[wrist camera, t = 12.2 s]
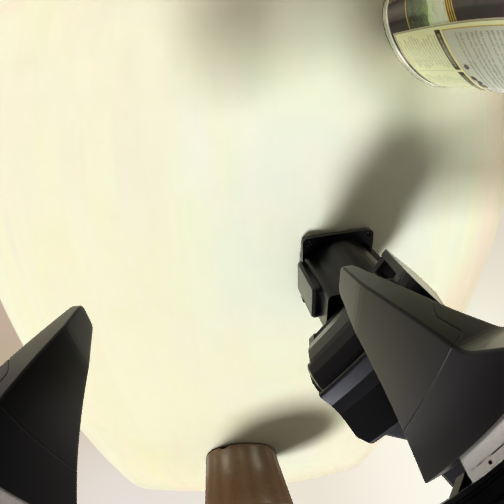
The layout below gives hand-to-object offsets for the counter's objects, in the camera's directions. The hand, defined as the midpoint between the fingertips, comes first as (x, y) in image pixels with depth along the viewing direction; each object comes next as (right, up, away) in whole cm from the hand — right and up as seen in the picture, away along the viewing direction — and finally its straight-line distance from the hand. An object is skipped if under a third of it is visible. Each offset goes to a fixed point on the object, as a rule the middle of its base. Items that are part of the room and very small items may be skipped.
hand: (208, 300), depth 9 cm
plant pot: (-1, -34, +33) cm, 47 cm away
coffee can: (+17, +20, +7) cm, 27 cm away
